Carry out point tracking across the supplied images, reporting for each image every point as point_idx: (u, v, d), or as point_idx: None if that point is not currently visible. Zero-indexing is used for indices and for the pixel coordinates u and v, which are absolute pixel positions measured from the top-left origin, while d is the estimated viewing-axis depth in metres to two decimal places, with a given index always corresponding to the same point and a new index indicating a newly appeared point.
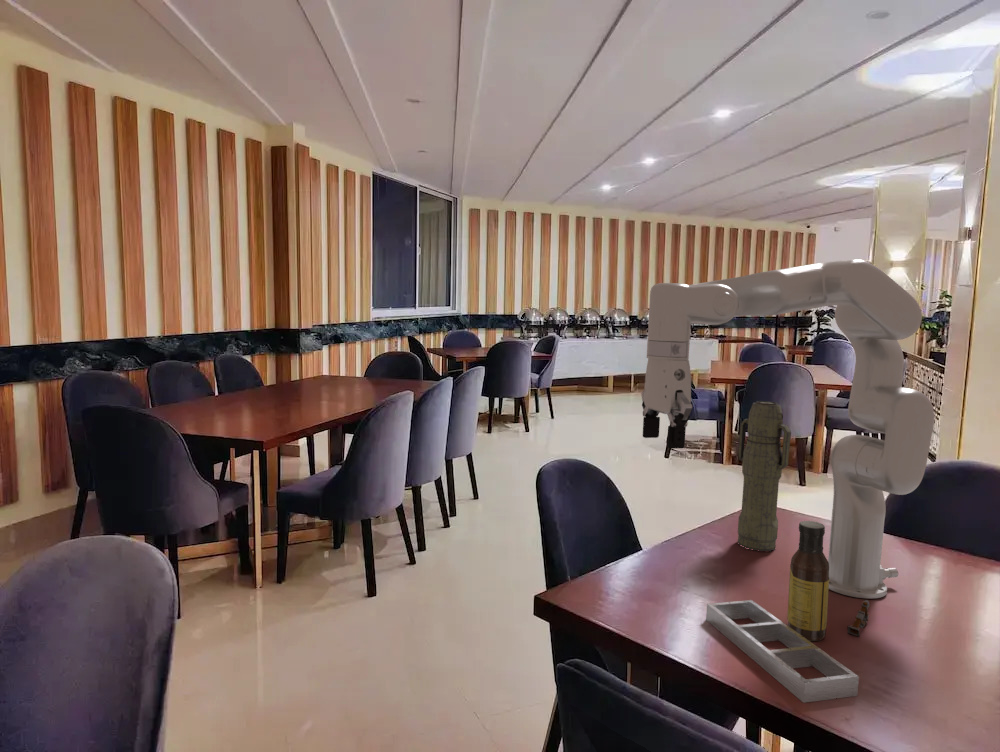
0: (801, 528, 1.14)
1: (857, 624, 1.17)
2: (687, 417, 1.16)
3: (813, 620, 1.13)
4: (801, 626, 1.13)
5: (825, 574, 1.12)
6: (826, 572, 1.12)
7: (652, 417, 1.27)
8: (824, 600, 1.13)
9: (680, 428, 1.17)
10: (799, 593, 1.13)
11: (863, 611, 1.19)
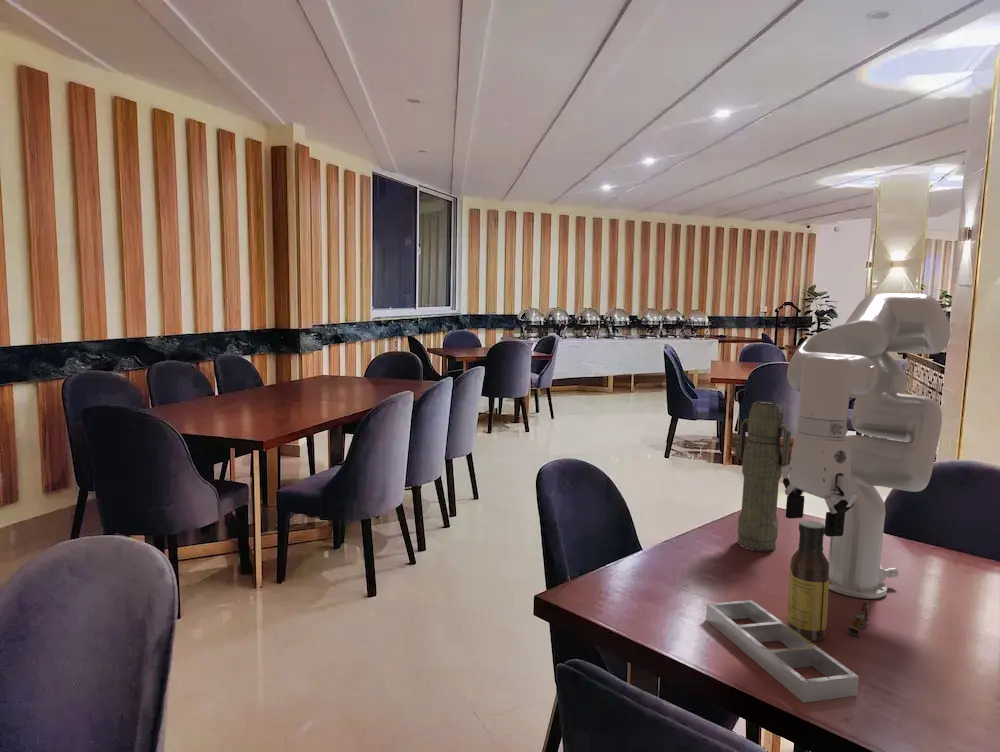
0: (801, 528, 1.14)
1: (857, 624, 1.16)
2: (851, 504, 1.06)
3: (813, 620, 1.13)
4: (801, 626, 1.13)
5: (825, 574, 1.12)
6: (826, 572, 1.12)
7: (796, 496, 1.18)
8: (824, 600, 1.13)
9: (841, 515, 1.08)
10: (799, 593, 1.13)
11: (863, 611, 1.18)
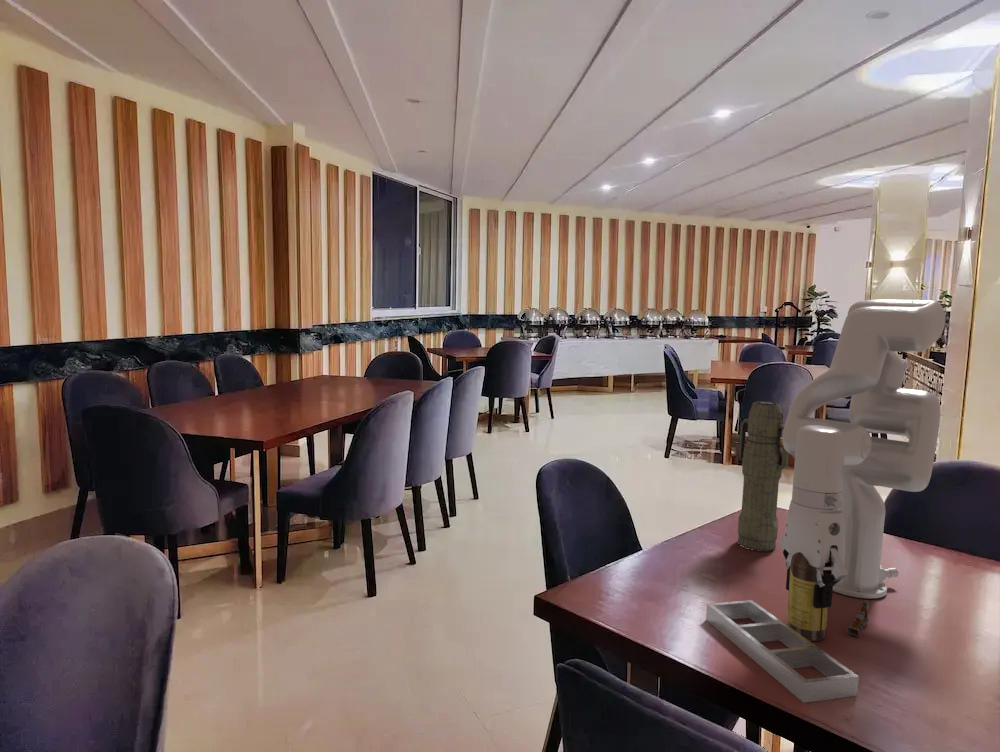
0: None
1: (857, 624, 1.16)
2: (838, 579, 1.09)
3: (813, 620, 1.13)
4: (801, 625, 1.13)
5: (825, 574, 1.12)
6: (826, 572, 1.12)
7: None
8: None
9: (829, 588, 1.11)
10: (799, 593, 1.13)
11: (863, 611, 1.18)
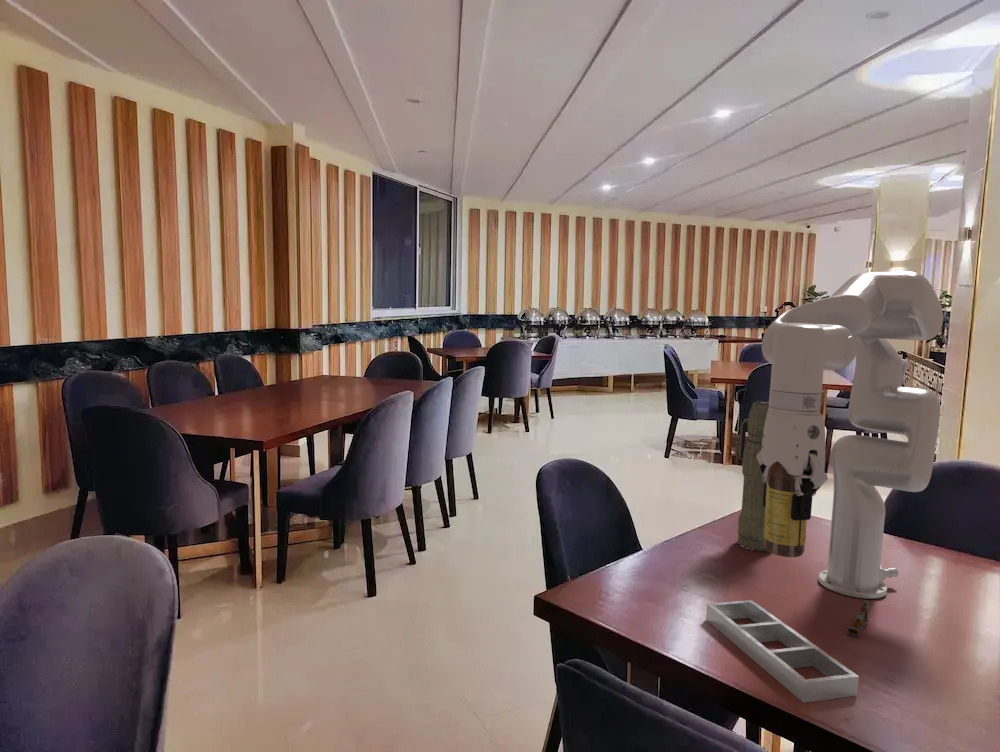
0: None
1: (857, 625, 1.16)
2: (818, 486, 1.00)
3: (791, 534, 1.04)
4: (778, 540, 1.05)
5: (804, 483, 1.04)
6: (805, 482, 1.04)
7: None
8: None
9: (808, 498, 1.02)
10: (776, 505, 1.05)
11: (863, 612, 1.18)
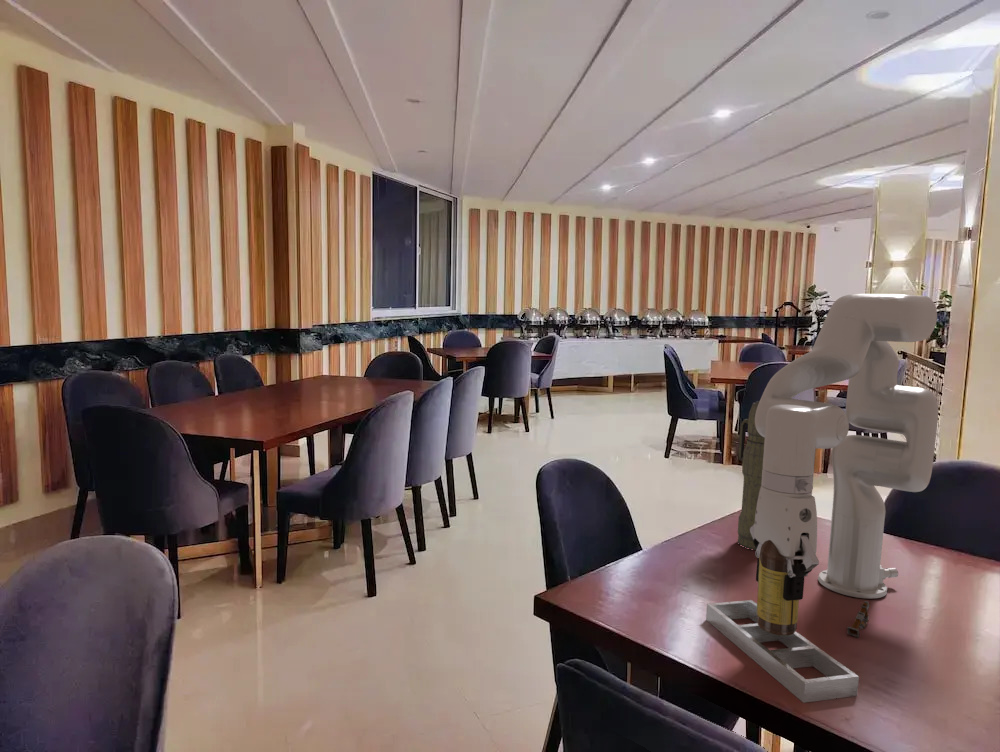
0: None
1: (856, 625, 1.16)
2: (809, 569, 1.01)
3: (783, 614, 1.05)
4: (770, 619, 1.06)
5: (796, 563, 1.05)
6: (797, 562, 1.05)
7: None
8: None
9: (800, 579, 1.03)
10: (768, 584, 1.06)
11: (863, 612, 1.18)
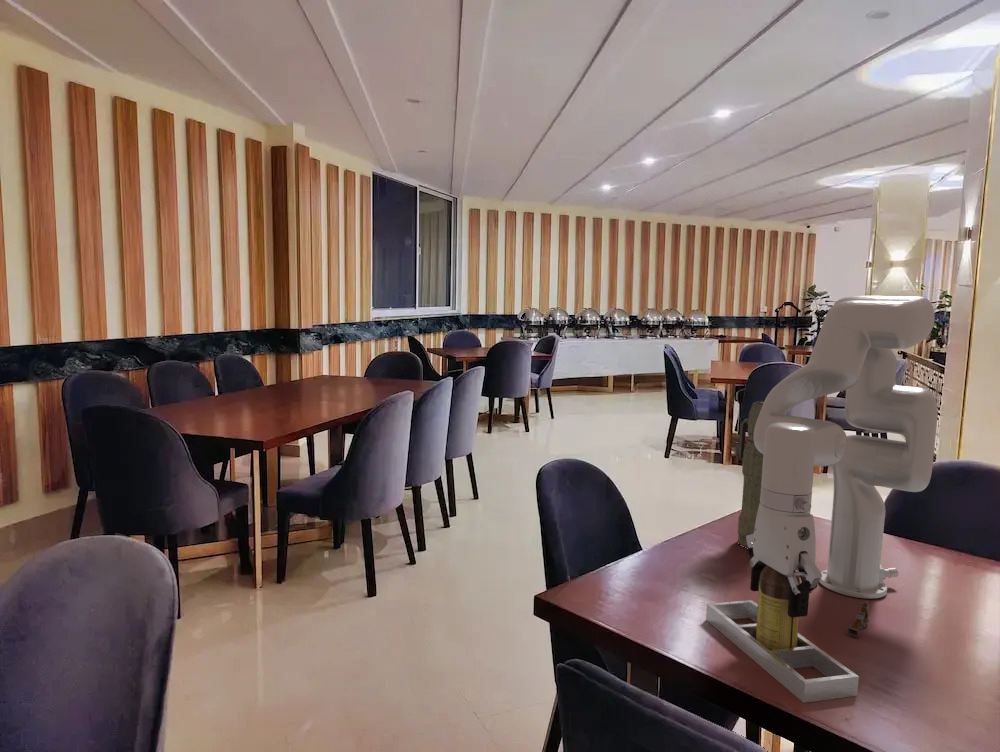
0: None
1: (856, 625, 1.16)
2: (815, 585, 1.00)
3: (783, 640, 1.05)
4: (770, 645, 1.06)
5: None
6: None
7: (761, 568, 1.12)
8: (795, 618, 1.05)
9: (805, 596, 1.02)
10: (768, 611, 1.06)
11: (863, 612, 1.18)
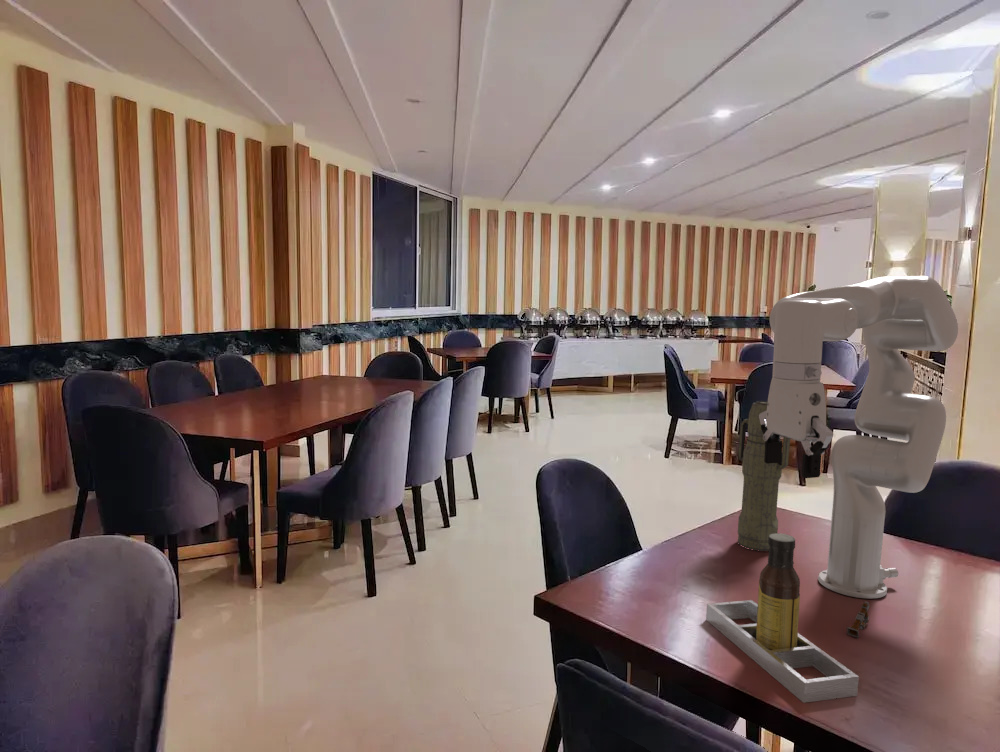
0: (770, 541, 1.06)
1: (856, 625, 1.16)
2: (826, 445, 1.07)
3: (783, 640, 1.05)
4: (770, 645, 1.06)
5: (796, 590, 1.05)
6: (796, 588, 1.05)
7: (774, 441, 1.19)
8: (795, 618, 1.05)
9: (817, 457, 1.09)
10: (768, 611, 1.06)
11: (863, 612, 1.18)
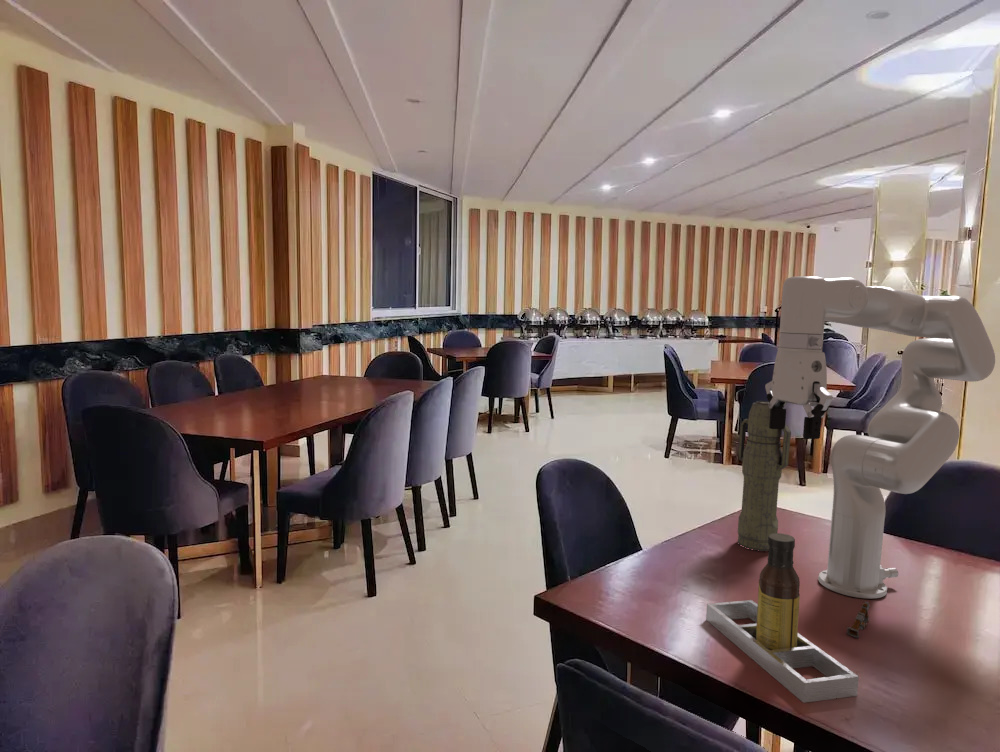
0: (769, 541, 1.07)
1: (856, 626, 1.16)
2: (826, 407, 1.17)
3: (783, 640, 1.05)
4: (770, 645, 1.06)
5: (795, 590, 1.05)
6: (796, 588, 1.05)
7: (779, 409, 1.29)
8: (794, 618, 1.05)
9: (817, 419, 1.19)
10: (768, 610, 1.06)
11: (863, 613, 1.18)
